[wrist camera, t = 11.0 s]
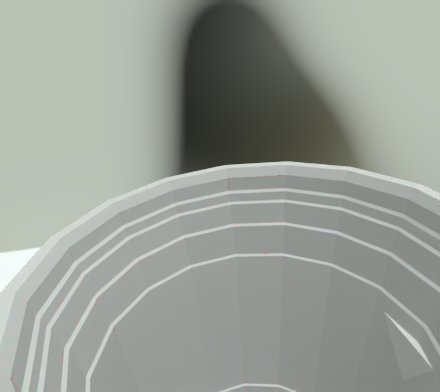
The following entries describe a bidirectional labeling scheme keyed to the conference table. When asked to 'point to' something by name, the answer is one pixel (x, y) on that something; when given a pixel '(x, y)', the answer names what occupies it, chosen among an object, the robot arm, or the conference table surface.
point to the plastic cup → (232, 287)
